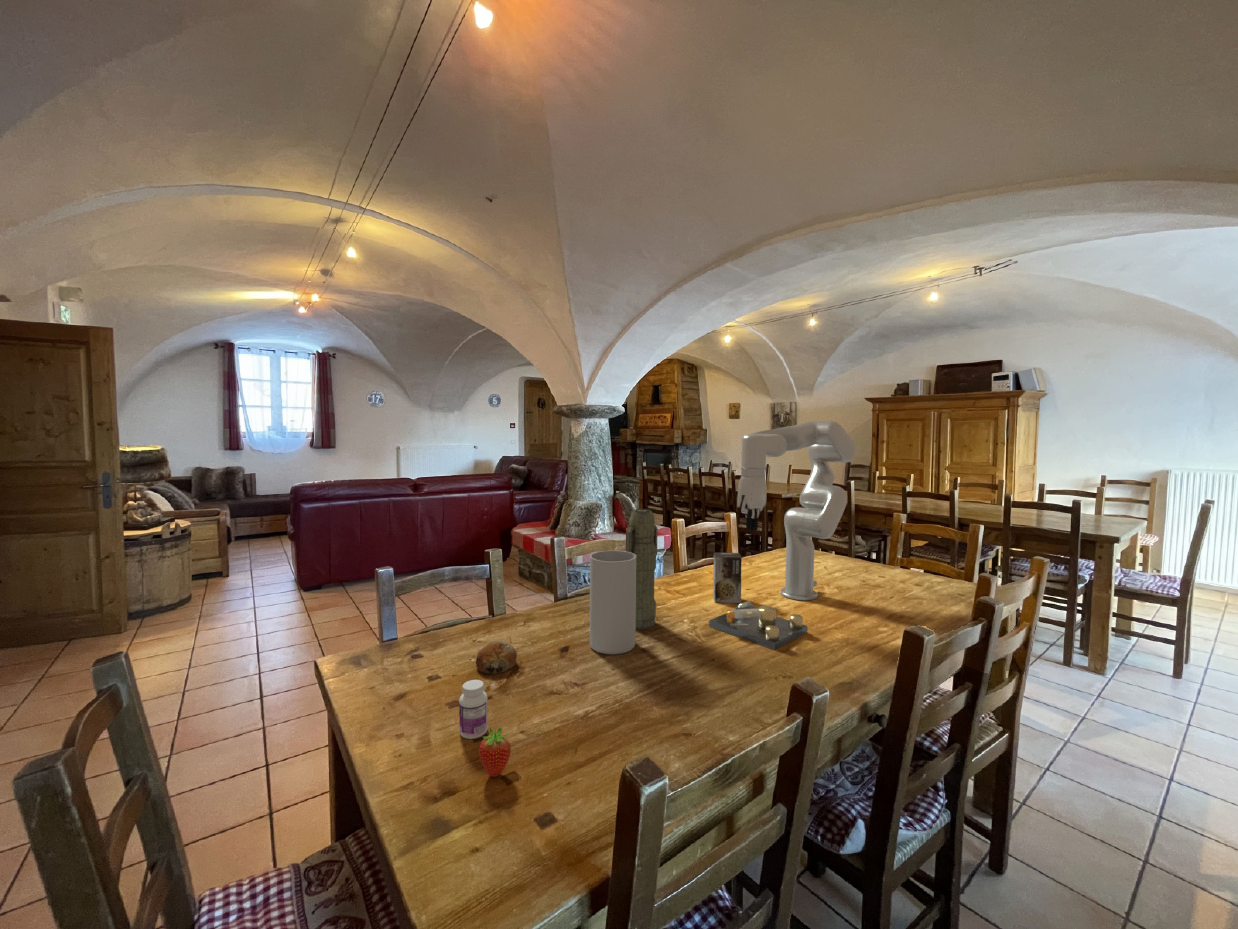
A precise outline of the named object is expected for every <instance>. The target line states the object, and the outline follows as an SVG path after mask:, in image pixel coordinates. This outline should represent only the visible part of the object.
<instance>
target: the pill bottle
mask: <svg viewBox="0 0 1238 929" xmlns="http://www.w3.org/2000/svg"><path fill="white" fill-rule="evenodd" d="M461 692H462V693H461V695H460V697H459V699H458V710H459V711H458V713H459V714H458V715H459V716H458V718H459V733H460V735H461V737H463V738H465V739H467V740H474V739H478V738H481V737H482V736H484V735H485V734H486V733H487V731H488V729H489V717H488V716H489V710H488V709H489V708H488V703H489V702H488V695H487V693H486V691H485V686H484V681H482V680H480V679H471V680H467V681H466V682H464V683H463V684H462V691H461Z"/></svg>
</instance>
